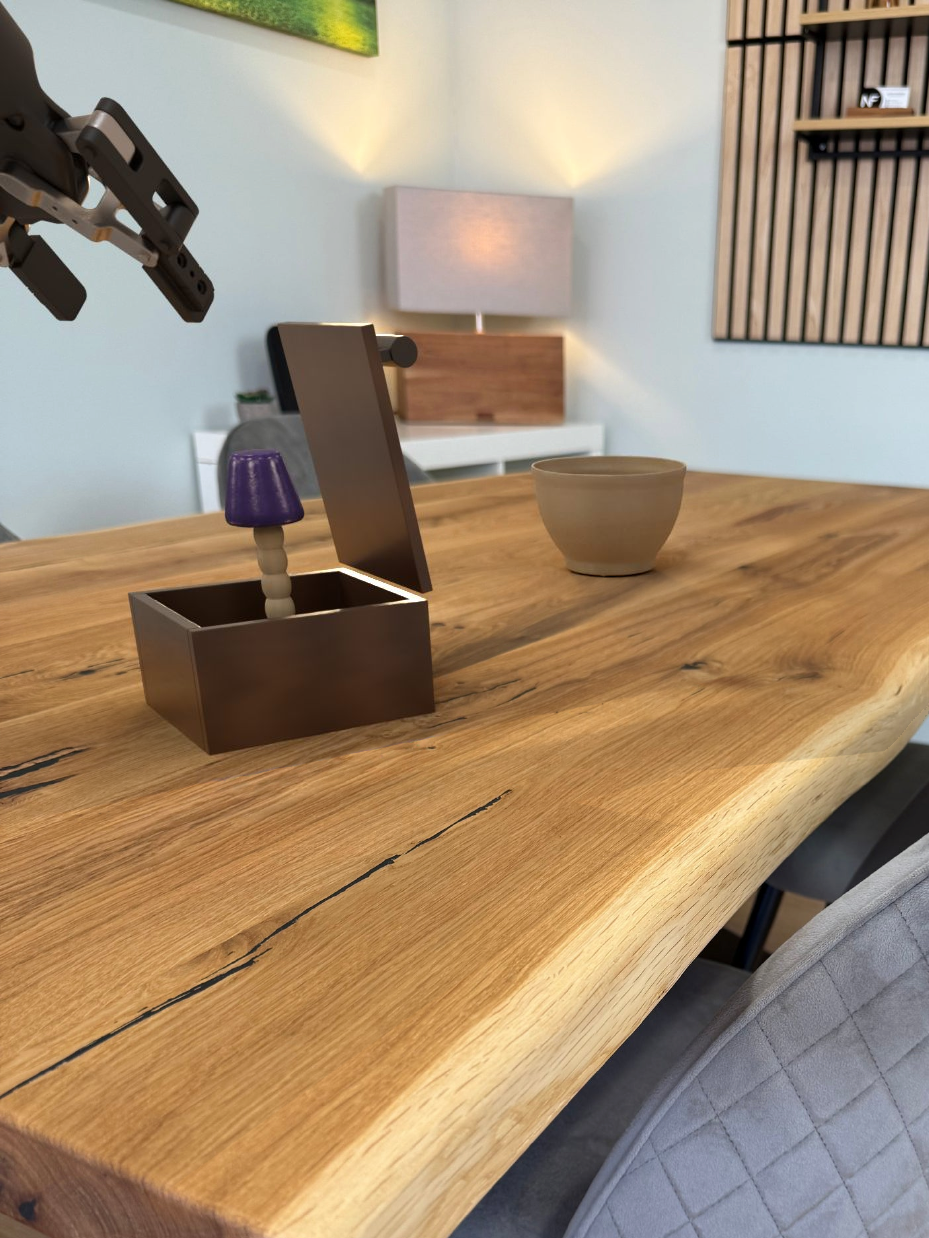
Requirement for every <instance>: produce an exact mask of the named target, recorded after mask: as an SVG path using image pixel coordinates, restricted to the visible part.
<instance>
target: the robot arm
mask: <svg viewBox="0 0 929 1238" xmlns="http://www.w3.org/2000/svg"><path fill="white" fill-rule="evenodd" d="M35 62H36V61H35V53H34V50H33V46H32V44H31V42H30V40H29V38H28V37H27V35H26V34H25V33H24V31H23V30H22V29H21V27H20V26H19V25H18V23H17V21H16V20H15V19H14V18H13V16H12V15H11V13H10V12H9V11H8V10H7V8H6V7H5V5H4V4H3V3H2V1H0V268H5V269H7V268H8V269H9V270H10V271H11V272H12V273H13V274H14V275H15V276H16V277H17V278H18V280H19V281H20V282H21V283H22V284H23V286H25V288H27V290H28V291H29V292H30V293H31V294H33V295H32V296H33V297H34V298H35V299H36V300H37V301H38V302H39V303H40V304H41V305H43V306H44V307H45V308H46V309H47V310H48V311H49V313H50V314H51V315H52V316H53V317H54V318H55V319H56V320H57V321H59V322H73V321H75V320H76V319H77V317H78V316H79V314H80V312H81V310H82V308H83V306H84V304H85V303H86V301H87V297H88V293H87V289H86V287H85V286H84V285H83V283H82V282H81V281H80V280H79V279H78V278H77V276H76V275H75V274H74V273H73V272H72V271H71V269H69V267H68V266H67V265H66V263H65V262H64V261H63V260H62V259H61V258H60V257H59V255H58V254H57V253H56V252H55V251H54V249H52V247H51V246H50V245H49V244H48V243H47V241H46V240H45V239H44V238H43V237H42V235H40V234H29V232H30V230H31V226H32V225H34V224H38V223H39V222H41V221H42V222H46V223H51V224H56V225H66V226H68V227H69V228H70V229H71V230H73V231H75V232H76V233H78V234H80V235H81V236H83V237H84V238H85V239H87V240H88V241H90V242H92V243H102V242H103V241H104V242H108V243H110V244H111V245H113V246H115V247H116V248H118V250H120V251H122V252H124V253H125V254H127V255H128V256H130V258H133V259H134V260H136V261H137V262H139V263H140V264H142V266H141V269H142V270H143V271H144V272H145V274H146V275H147V276H148V277H149V279H150V280H151V281H152V283H153V284H154V285H155V286H156V288H157V289H158V290H159V291H160V293H161V294H162V295H163V297H165V298H164V299H166V300H167V302H168V303H169V304H170V305H171V307H172V308H173V309H174V310H175V312H176V313H177V314H178V316H179V317H180V318H181V319H182V321H184V322H185V323H187V324H189V323H190V324H192V323H193V324H200V323H202V322H203V321H204V320H205V318H206V316H207V314H208V312H209V310H210V308H211V306H212V304H213V302H214V300H215V292H216V291H215V290H216V289H215V287H214V283H213V282H212V280H211V279H210V277H209V275H208V274H207V273H205V270H204V269H203V268H202V267H201V266H200V264H199V262H198V261H197V260H196V258H195V257H194V256H193V254H192V253H191V251H190V250H189V249H188V247H187V245H186V244H184V243H185V240H186V239H187V237H188V235H189V233H190V232H191V229H192V227H193V225H194V224H195V222H196V220H197V218H198V216H199V214H200V209H199V207H198V205H197V203H196V202H195V201H194V200H193V198H192V197H191V196H190V194H189V193H188V192H187V190H186V189H185V188H184V186H183V185H182V184H181V183H180V181H179V180H178V178H177V177H176V175H174V173H173V172H172V171H171V169H170V168H169V166H168V165H167V164H166V163H165V162H164V160H163V159H162V157H161V155H159V154H158V152H157V151H156V149H155V148H154V147H153V145H152V144H151V142H150V141H149V140H148V139H147V137H146V136H145V135H144V134H143V132H142V131H141V129H140V128H139V127H138V126H137V124H136V122H134V120H133V119H132V118H131V116H130V115H129V114H128V112H127V111H126V110H125V108H124V107H123V106H122V105H121V104H120V103H119V102H118V101H116V100H115V99H113V98H111V97H107V96H103V97H101V98H100V99H99V100H98V103H97V104H96V106H95V107H94V109H93V111H92V112H91V113H90V114H84V115H79V116H78V115H77V116H72V115H71V114H70V113H69V112H67V111H66V110H65V109H64V108H62V107H61V106H60V105H59V104H57V103H56V102H55V101H54V100H53V99H52V98H51V97H50V96H49V95H48V94H47V93H46V92H45V91H44V90H43V88H42V86H41V84H40V81H39V78H38V74H37V69H36V63H35ZM90 177H91V178H93V179H95V180H96V181H97V182H99V183H100V185H102V186H103V188H104V189H105V191H104V193H103V195H102V196H101V198H100V200H99V202H98V203H97V205H96V207H94V208H86V207H84V206H83V204H84V203H85V201H86V199H87V197H88V195H90V189H91V182H90ZM155 193H156V195H157V196H159V198H160V199H161V201H162V202H163V204H164V205H165V206H164V207H163V206H161V205H160V204H158V203H157V202H155V201H154V195H155ZM120 210H125V211H127V212H128V214H129V215H130V217H132V219H133V220H134V221H135V222H136V224H137V225H138V226H139V227H140V229H141V230H140V231H139V233H137V232H136V231H134V229H132V228H130V227H128V226H127V225H125V224H124V223H122V222H121V221H120V220H119V219H118V218H117V217H116V216H117V214H118V212H119V211H120Z"/></svg>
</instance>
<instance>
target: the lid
mask: <svg viewBox="0 0 929 1238" xmlns="http://www.w3.org/2000/svg"><path fill="white" fill-rule="evenodd" d="M276 326H277V330H278V333H279V337H280V343H281V346H282V348H283V353H284V357H285V361H286V364H287V368H288V372H289V376H290V379H291V384H292V389H293V391H294V396H295V399H296V403H297V406H298V410H299V414H300V418H301V423H302V426H303V430H304V433H305V437H306V441H307V445H308V448H309V452H310V457H311V460H312V464H313V468H314V472H315V476H316V479H317V483H318V487H319V491H320V494H321V495H320V496H321V499H322V503H323V506H324V510H325V514H326V518H327V522H328V525H329V529H330V533H331V537H332V541H333V545H334V548H335V553H336V556H337V560H338V563H339V564H342V565H345V566H347V567H350V568H352V569H355V570H358V571H361V572H363V573H366V574H367V575H368V574H369V575H372V576H374V577H376V578H379V579H381V580H384V581H387V582H390V583H392V584H395V585H398V586H400V587H403V588H405V589H408V590H411V591H413V592H416V593H419V594H421V595H424V594H428V593H430V592H433V591H434V587H433V585H432V580H431V576H430V575H431V574H430V571H429V566H428V561H427V558H426V552H425V549H424V544H423V538H422V534H421V530H420V525H419V521H418V517H417V512H416V508H415V507H416V506H415V503H414V499H413V494H412V490H411V485H410V482H409V477H408V473H407V467H406V463H405V459H404V455H403V450H402V445H401V440H400V437H399V432H398V428H397V427H398V426H397V423H396V419H395V418H396V417H395V414H394V410H393V405H392V401H391V396H390V392H389V386H388V383H387V379H386V374H385V370H384V369H385V368H386V367H387V368H400V369H409V368H411V367H412V366H414V364H415V363H416V362H417V360H418V356H419V350H418V347H417V344H416V342H415V341H414V339H412V338H411V337H410V336H407V335H395V334H377V333H376V329H375V325H374V323H364V322H363V323H362V322H361V323H360V322H326V321H325V322H321V321H320V322H318V321H283V322H278V323H277V324H276ZM384 367H385V368H384Z"/></svg>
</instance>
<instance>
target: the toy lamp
mask: <svg viewBox="0 0 929 1238" xmlns="http://www.w3.org/2000/svg"><path fill="white" fill-rule="evenodd" d="M224 503H225V504H224V519H225V522H226V524H228V525H229V526H231V527H237V528H245V529H252V534H253V539H254V540H253V541H254V543H255V544H256V546H257V548H258V550H257V555H256V558H257V565H258V567H259V569H260V571H261V572H262V575H261V577H262V579H261V584H262V590H263V592H264V594H265V596H266V597H267V599H266V602H265V611H266V615H267V617H268V619H269V618H277V617H284V616H292V615H295V606H294V603H293V600H292V598H291V597H290V594H291V580H290V577H289V575H288V573H287V569H288V567H289V560H288V559H289V558H288V555H287V553H286V550H285V548H284V546H283V545H284V542H285V532H284V529H283V526H287V525H291V524H296V523H299V522H301V521H302V520H303V519H304V518H305V510H304V506H303V503H302V501H301V498H300V496H299V494H298V491H297V488H296V486H295V483H294V481H293V478H292V476H291V473H290V471H289V469H288V466H287V463H286V461H285V458H284V456H283V455H282V453H281V452H280V451H279V450H278V449H271V448H257V449H256V448H255V449H244V450H239V451H238V450H237V451H235V452H232V453H231V455H230V456H229V460H228V469H227V480H226V491H225V502H224Z"/></svg>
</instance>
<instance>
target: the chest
mask: <svg viewBox="0 0 929 1238" xmlns="http://www.w3.org/2000/svg"><path fill="white" fill-rule="evenodd" d="M287 574H288V573H287ZM288 575H289V577H290V580H291V594H290V597H291V598H292V600H293V603H294V606H295V615H292V616H284V617H277V618H269V619H268V617H267V615H266V611H265V602H266V599H267V597H266V596H265V594H264V592H263V590H262V584H261V579H262V576H261V577H252V578H244V579H243V578H242V579H236V580H227V581H218V582H210V583H209V582H208V583H201V584H191V585H184V586H183V585H182V586H174V587H165V588H158V589H150V590H149V589H147V590H139V591H130V592H128V593H127V597H128V603H129V609H130V610H129V611H130V614H131V621H132V626H133V632H134V639H135V645H136V646H135V647H136V651H137V657H138V663H139V669H140V675H141V676H140V677H141V681H142V688H143V693H144V699H145V704H146V705H147V706H148V707H149V708H151V709H152V710H153V711H154V712H156V713H157V714H158V715H160V716H161V718H163V719H164V720H165V721H167V722H168V723H169V724H170V725H171V726H173V727H174V728H175V729H176V730H177V731H178V732H180V733H181V734H182V735H184V736H185V737H186V738H187V739H188V740H190V741H191V742H192V743H193V744H194V745H196V746H197V747H198V748H199V749H201V751H203V752H204V753H206V755H208V756H216V755H222V754H227V753H230V752H231V753H232V752H236V751H243V750H247V749H252V748H258V747H263V746H269V745H273V744H278V743H283V742H288V741H293V740H300V739H304V738H309V737H315V736H319V735H325V734H329V733H330V734H331V733H335V732H340V731H345V730H351V729H355V728H361V727H366V726H372V725H377V724H383V723H387V722H392V721H397V720H403V719H408V718H413V717H418V716H423V715H428V714H435V713H436V703H435V687H434V674H433V673H434V672H433V657H432V655H433V654H432V641H431V640H432V639H431V625H430V611H429V601H428V599H425V598H423V597H421V596H418V595H416V594H413V593H411V592H408V591H405V590H403V589H400V588H397V587H396V586H395V587H394V586H392V585H390V584H387V583H384V582H382V581H379V580H377V579H374V578H372V577H368V576H366V575H364V574H361V573H359V572H356V571H353V570H350V569H348V568H345V567H340V568H333V569H323V570H322V569H321V570H315V571H314V570H313V571H305V572H296V573H289V574H288Z"/></svg>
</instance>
